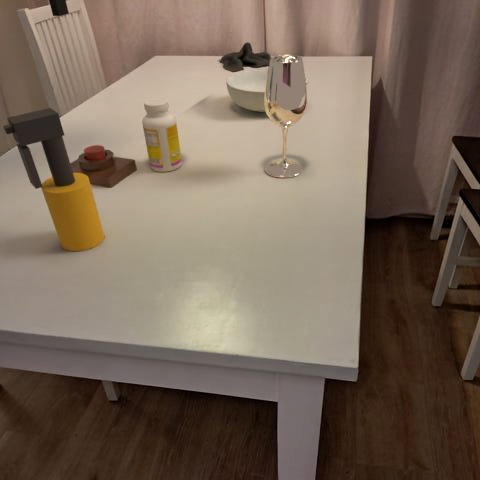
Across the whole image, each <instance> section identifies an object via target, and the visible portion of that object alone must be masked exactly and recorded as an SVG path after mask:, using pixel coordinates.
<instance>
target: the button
mask: <svg viewBox="0 0 480 480" xmlns="http://www.w3.org/2000/svg"><path fill="white" fill-rule="evenodd" d="M83 153H84V154H85V157H86V160H99V159H103V158H104V157H106V153H105V146H103V145H100V144H94V145H89V146H87V147H85V148H83Z"/></svg>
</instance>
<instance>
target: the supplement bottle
mask: <svg viewBox="0 0 480 480" xmlns="http://www.w3.org/2000/svg"><path fill="white" fill-rule="evenodd" d="M143 108H144V111H145V112H146V114H145V115H144V116H143V118H142V121H141V123H142V124H141V125H142V128H143V136H144V140H145V146H146V151H147V156H148V161H149V166H150V168H151V170H153V171H155V172H160V173H165V172H172V171H175V170H177V169H179V168H180V167H181V166H182V163H183V161H182V153H181V152H182V151H181V145H180V137H179V132H178V126H177V125H178V124H177V119H176V116H175V115H174V114H173V113H172V112H170V111H169V108H170V103H169V100H168V99H167V98H164V97H157V98H155V97H153V98H149V99H146V100H144V101H143Z"/></svg>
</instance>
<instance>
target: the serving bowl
mask: <svg viewBox="0 0 480 480" xmlns="http://www.w3.org/2000/svg"><path fill="white" fill-rule="evenodd" d="M267 74H268V68H262V69H251V70H246V71H245V70H244V71H241V72H238V73H235V74H232V75H230V76H229V77H228V78H227V79H226V81H225V82H226V83H225V84H226V88H227V92H228V95H229V97H230V98H231V100H232V102H234V103H235V104H236V105H237V106H239V107H240V108H243V109H245V110H249V111H254V112H257V111H258V113H266V111H265V107H264V94H265V86H266V79H267ZM305 80H306V88H308V83H309V79H308V77H307V76H306V75H305Z"/></svg>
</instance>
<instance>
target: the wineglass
mask: <svg viewBox="0 0 480 480" xmlns="http://www.w3.org/2000/svg"><path fill="white" fill-rule="evenodd" d="M269 62H270V63H269V65H268V68H267V69H268V74H267V79H266V86H265V94H264V107H265V111H266V112H265V114H266V116H267V118H268V119H269V121H271V122H272V123H273V124H275V125H276V126H277V127H281V131H282V158H281V160H278V161H274V162H271V163H269V164H267V165H266V166H265V172H266V174H268V175H269V176H271V177H274V178H281V179H285V178H286V179H287V178H293V177H297V176H299V175H301V174H302V173H303V171H304V167H303V165H302V164H300V163H298V162H296V161H291V160H287V143H288V142H287V140H288V131H289V127H291V126H293V125H295V124H296V123H298V121H300V120H301V119H302V117H303V116H304V115H305V112H306V109H307V104H308V90H307V88H308V87H307V88H306V80H305V76H306V73H305V66H304V62H303V57H302V56H300V55H295V54H279V55H275V56H271V59H270V61H269Z"/></svg>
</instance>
